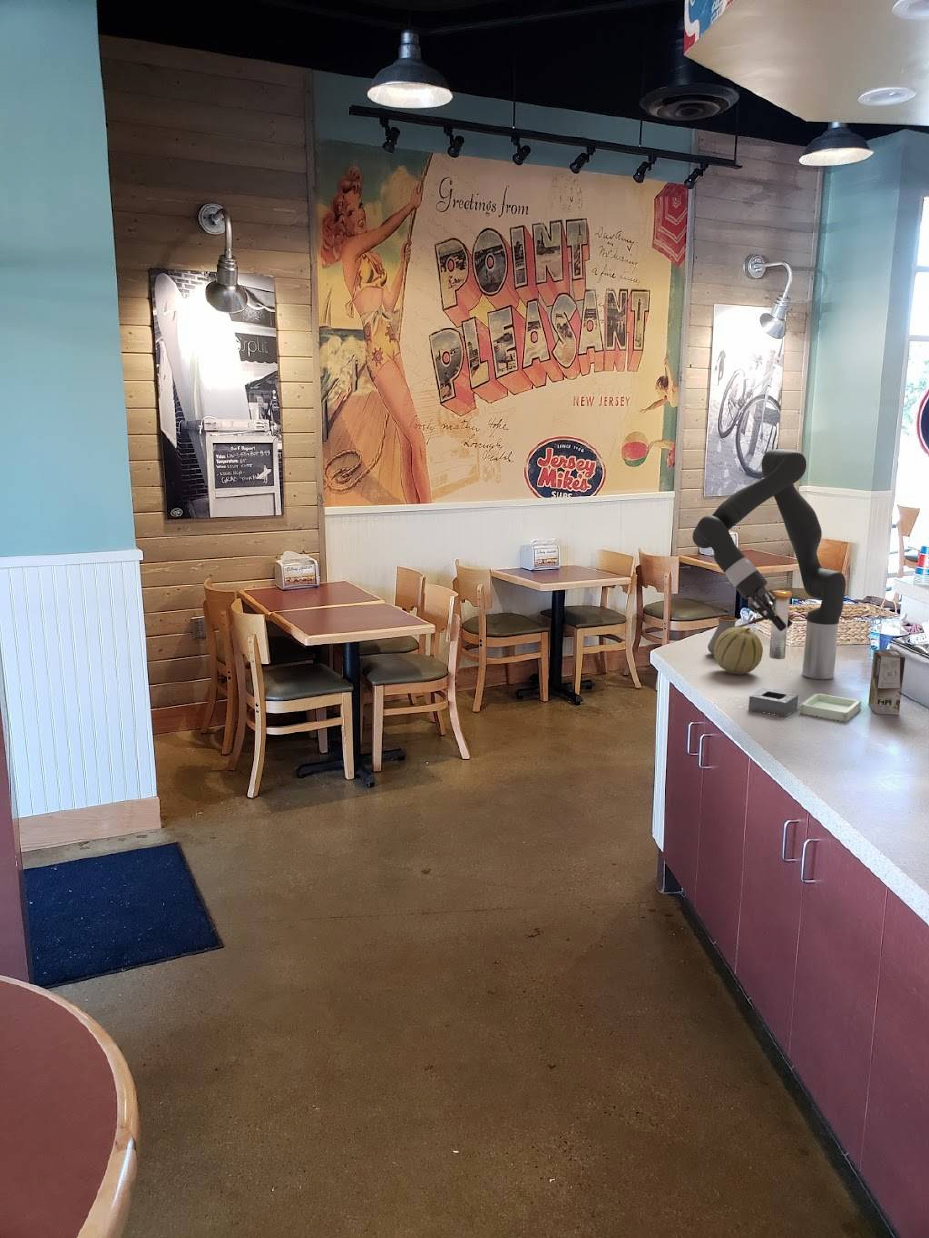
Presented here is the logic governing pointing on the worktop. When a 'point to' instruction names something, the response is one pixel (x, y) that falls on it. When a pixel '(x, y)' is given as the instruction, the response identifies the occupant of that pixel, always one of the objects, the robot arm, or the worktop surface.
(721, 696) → the worktop surface
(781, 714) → the socket block
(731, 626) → the coffee pot
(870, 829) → the worktop surface
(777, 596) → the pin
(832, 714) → the tray
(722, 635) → the cantaloupe
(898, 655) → the coffee box
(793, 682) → the worktop surface
